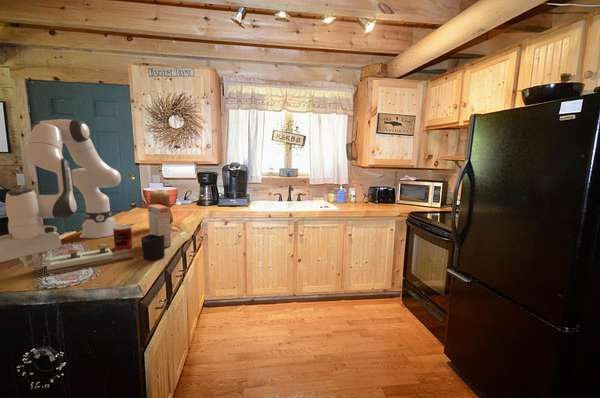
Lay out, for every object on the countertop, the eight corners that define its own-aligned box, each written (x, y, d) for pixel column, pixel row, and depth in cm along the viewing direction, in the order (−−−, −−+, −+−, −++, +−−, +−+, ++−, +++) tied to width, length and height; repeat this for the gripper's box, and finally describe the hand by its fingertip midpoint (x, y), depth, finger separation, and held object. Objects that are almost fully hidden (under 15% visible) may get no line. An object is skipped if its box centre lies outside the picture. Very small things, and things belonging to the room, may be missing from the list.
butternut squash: (149, 231, 170) (147, 191, 166) (149, 227, 181) (147, 189, 178) (174, 229, 177) (172, 190, 173) (172, 224, 188) (170, 188, 184)
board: (47, 264, 116) (46, 249, 115) (127, 250, 136) (126, 237, 135) (47, 275, 106) (45, 258, 105) (133, 258, 125) (132, 244, 124)
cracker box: (171, 246, 144) (169, 207, 141) (159, 249, 139) (157, 208, 136) (161, 240, 153) (159, 203, 150) (149, 242, 149) (147, 204, 146)
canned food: (129, 244, 145) (127, 224, 143) (135, 247, 140) (133, 226, 138) (112, 248, 139) (110, 226, 138) (118, 251, 134) (116, 229, 133)
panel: (47, 262, 115) (46, 253, 114) (109, 252, 129) (108, 243, 128) (47, 270, 107) (46, 260, 107) (113, 258, 122) (112, 249, 121)
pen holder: (161, 252, 134) (160, 233, 132) (168, 258, 127) (167, 237, 126) (140, 257, 128) (138, 236, 126) (145, 263, 121) (144, 241, 119)
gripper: (-9, 239, 95) (-3, 277, 97) (61, 226, 114) (64, 258, 116) (-18, 237, 97) (-12, 274, 99) (52, 224, 116) (56, 256, 118)
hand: (30, 265), depth 108 cm, fingers closed
